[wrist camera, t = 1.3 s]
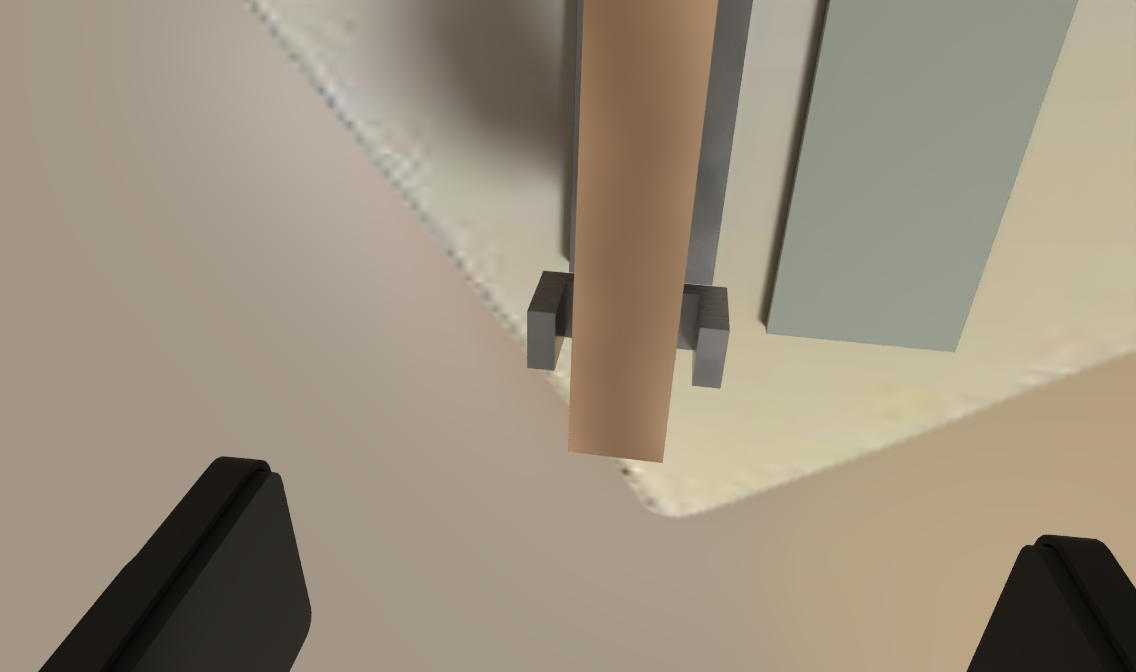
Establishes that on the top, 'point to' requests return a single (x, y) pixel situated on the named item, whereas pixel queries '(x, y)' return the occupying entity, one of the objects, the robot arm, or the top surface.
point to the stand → (700, 304)
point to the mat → (909, 164)
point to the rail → (634, 215)
